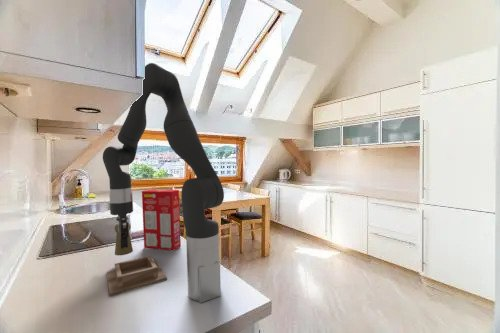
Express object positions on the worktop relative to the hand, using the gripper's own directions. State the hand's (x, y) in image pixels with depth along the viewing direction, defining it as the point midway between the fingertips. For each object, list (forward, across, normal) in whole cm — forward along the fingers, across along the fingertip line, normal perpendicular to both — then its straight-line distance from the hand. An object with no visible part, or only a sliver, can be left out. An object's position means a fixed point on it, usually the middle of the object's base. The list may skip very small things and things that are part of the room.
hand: (123, 246), depth 91 cm
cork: (+3, 0, 0) cm, 3 cm away
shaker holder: (+7, -14, -2) cm, 15 cm away
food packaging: (+7, +9, -16) cm, 20 cm away
